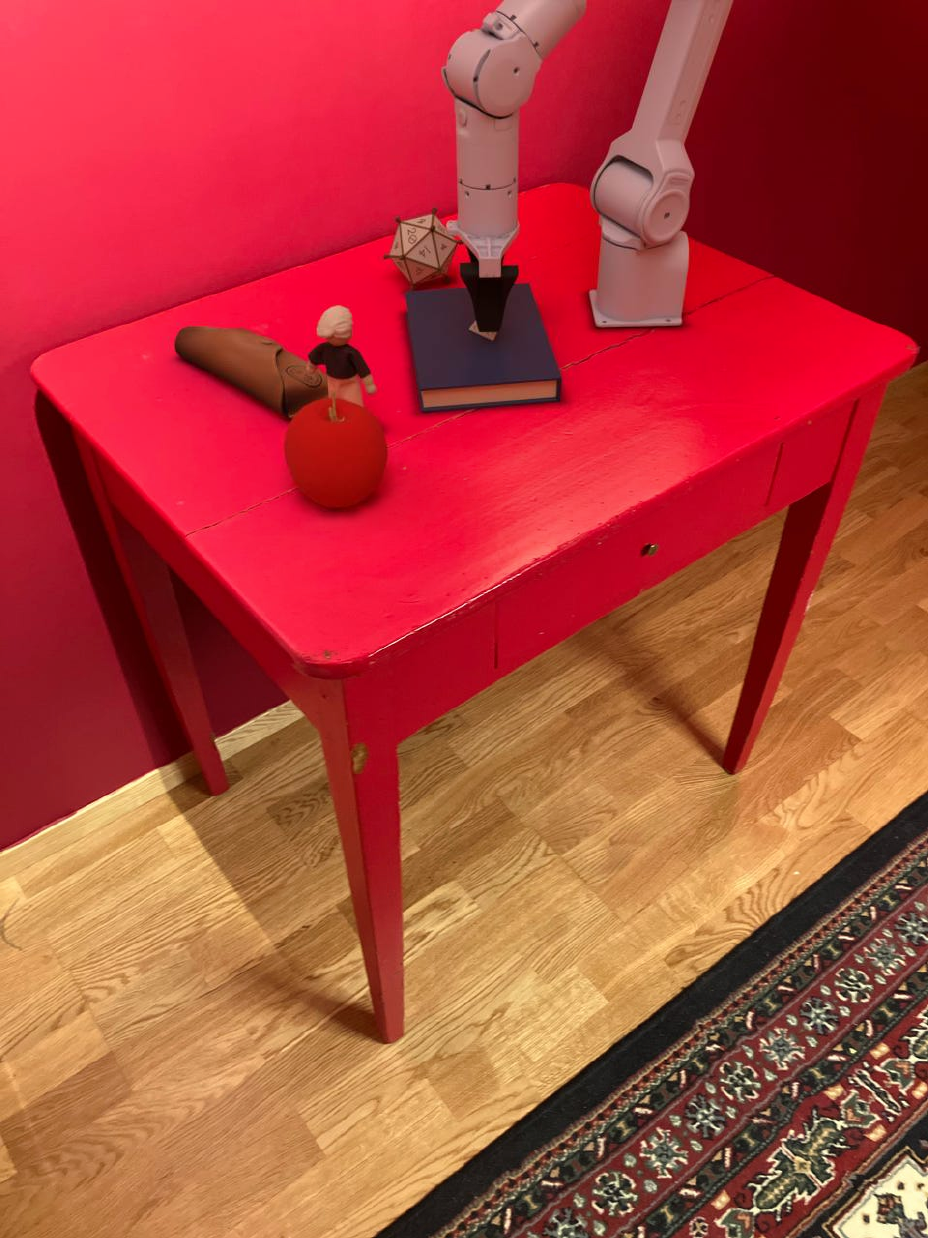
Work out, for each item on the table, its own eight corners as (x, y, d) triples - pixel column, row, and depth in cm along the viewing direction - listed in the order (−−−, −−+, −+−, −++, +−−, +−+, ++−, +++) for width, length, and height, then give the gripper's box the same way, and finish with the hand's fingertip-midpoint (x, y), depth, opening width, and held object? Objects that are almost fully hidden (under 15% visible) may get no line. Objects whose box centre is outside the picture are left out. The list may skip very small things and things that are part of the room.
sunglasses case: (348, 383, 104) (316, 346, 98) (308, 439, 103) (273, 405, 98) (237, 326, 113) (202, 289, 107) (199, 377, 112) (162, 342, 107)
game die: (439, 315, 122) (462, 272, 113) (370, 292, 121) (388, 246, 111) (453, 251, 125) (477, 204, 115) (387, 227, 123) (405, 177, 113)
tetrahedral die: (509, 339, 107) (516, 311, 106) (492, 341, 105) (499, 312, 104) (485, 328, 109) (491, 300, 107) (468, 329, 107) (474, 301, 105)
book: (528, 305, 116) (529, 282, 114) (560, 401, 102) (561, 377, 100) (405, 314, 115) (404, 291, 113) (421, 412, 101) (419, 388, 99)
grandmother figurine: (392, 423, 100) (382, 303, 91) (377, 445, 97) (365, 324, 88) (320, 410, 102) (304, 291, 93) (304, 431, 99) (285, 311, 90)
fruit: (412, 490, 92) (405, 395, 85) (334, 537, 88) (321, 440, 81) (346, 449, 97) (335, 355, 90) (269, 491, 93) (251, 396, 86)
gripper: (445, 149, 101) (449, 279, 110) (444, 211, 90) (449, 348, 100) (516, 147, 101) (514, 277, 110) (524, 209, 90) (521, 346, 100)
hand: (487, 311), depth 105 cm, fingers open, 7 cm apart
